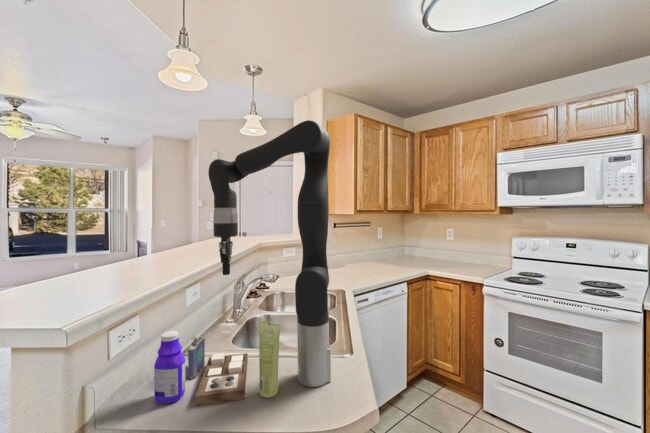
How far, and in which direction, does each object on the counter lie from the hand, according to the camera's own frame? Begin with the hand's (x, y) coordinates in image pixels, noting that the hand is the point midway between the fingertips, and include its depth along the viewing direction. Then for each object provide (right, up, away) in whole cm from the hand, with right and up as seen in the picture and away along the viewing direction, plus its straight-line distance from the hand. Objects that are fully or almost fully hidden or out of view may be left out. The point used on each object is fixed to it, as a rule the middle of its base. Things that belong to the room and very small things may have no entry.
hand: (226, 274), depth 95 cm
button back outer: (-1, -28, -4) cm, 28 cm away
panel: (+3, -29, -10) cm, 31 cm away
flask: (-8, -29, -5) cm, 31 cm away
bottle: (-9, -30, -18) cm, 36 cm away
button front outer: (0, -29, -10) cm, 31 cm away
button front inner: (+6, -28, -9) cm, 30 cm away
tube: (+17, -29, -16) cm, 38 cm away
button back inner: (+4, -29, -3) cm, 29 cm away
